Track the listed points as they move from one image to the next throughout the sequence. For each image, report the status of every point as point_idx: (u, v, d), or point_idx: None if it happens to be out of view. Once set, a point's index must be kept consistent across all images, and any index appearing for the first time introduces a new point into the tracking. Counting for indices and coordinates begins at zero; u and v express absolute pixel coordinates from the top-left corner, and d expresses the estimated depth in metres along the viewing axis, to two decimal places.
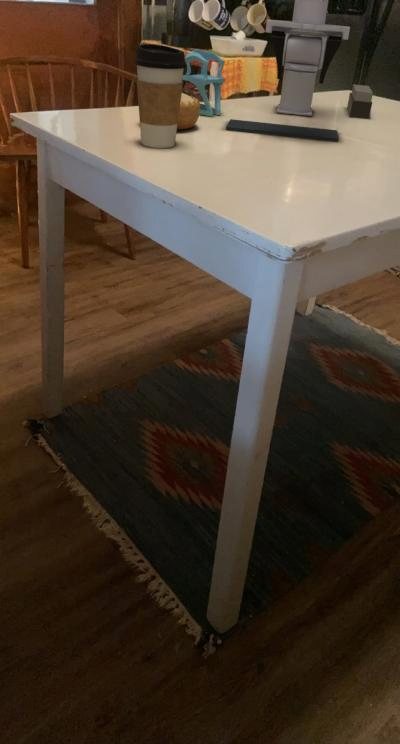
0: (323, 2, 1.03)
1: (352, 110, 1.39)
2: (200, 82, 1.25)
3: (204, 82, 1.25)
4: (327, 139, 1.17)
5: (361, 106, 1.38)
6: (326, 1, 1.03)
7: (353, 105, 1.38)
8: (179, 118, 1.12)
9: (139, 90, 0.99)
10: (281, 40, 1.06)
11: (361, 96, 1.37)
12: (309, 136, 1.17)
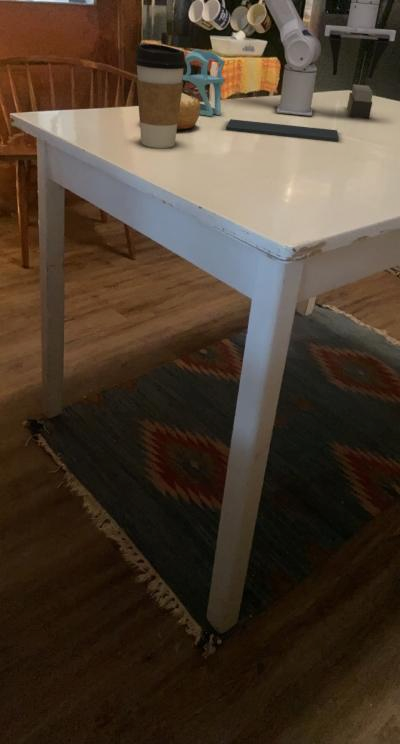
0: (374, 10, 1.24)
1: (352, 110, 1.39)
2: (200, 82, 1.25)
3: (204, 82, 1.25)
4: (327, 139, 1.17)
5: (361, 106, 1.38)
6: (376, 9, 1.24)
7: (353, 105, 1.38)
8: (179, 118, 1.12)
9: (139, 90, 0.99)
10: (338, 42, 1.27)
11: (361, 96, 1.37)
12: (309, 136, 1.17)
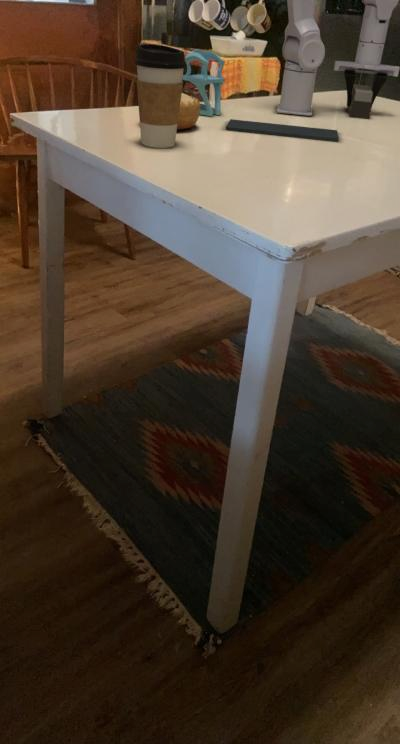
0: (380, 49, 1.35)
1: (352, 110, 1.39)
2: (200, 82, 1.25)
3: (204, 82, 1.25)
4: (327, 139, 1.17)
5: (361, 106, 1.38)
6: (382, 48, 1.36)
7: (353, 105, 1.38)
8: (179, 118, 1.12)
9: (139, 90, 0.99)
10: (352, 77, 1.38)
11: (361, 96, 1.37)
12: (309, 136, 1.17)
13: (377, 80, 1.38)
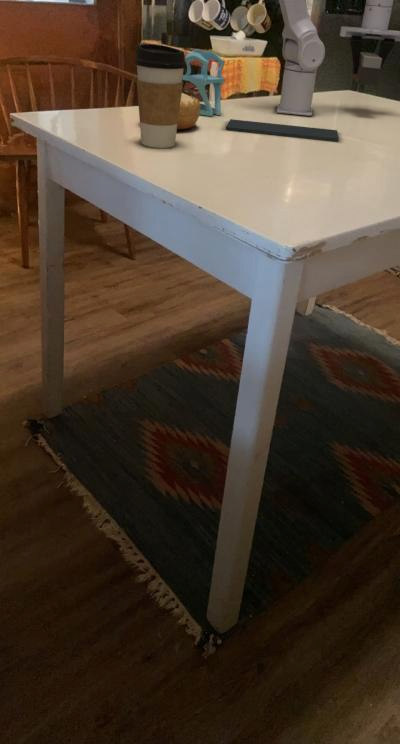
0: (388, 13, 1.31)
1: (361, 77, 1.35)
2: (200, 82, 1.25)
3: (204, 82, 1.25)
4: (327, 139, 1.17)
5: (370, 73, 1.34)
6: (390, 12, 1.32)
7: (362, 72, 1.34)
8: (179, 118, 1.12)
9: (139, 90, 0.99)
10: (360, 43, 1.34)
11: (370, 62, 1.33)
12: (309, 136, 1.17)
13: (385, 46, 1.34)
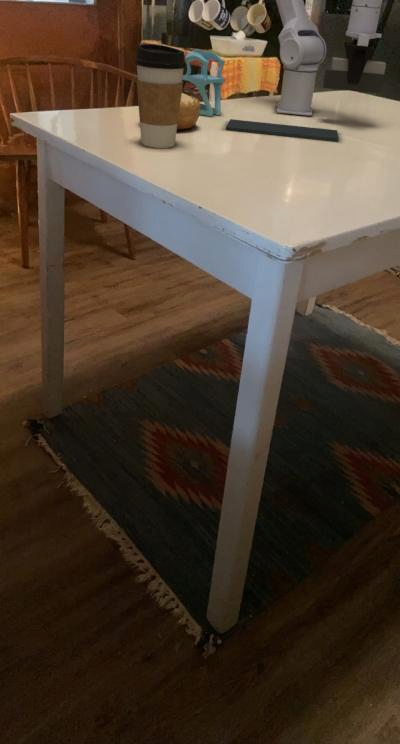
0: None
1: None
2: (200, 82, 1.25)
3: (204, 82, 1.25)
4: (327, 139, 1.17)
5: None
6: None
7: None
8: (179, 118, 1.12)
9: (139, 90, 0.99)
10: None
11: None
12: (309, 136, 1.17)
13: None
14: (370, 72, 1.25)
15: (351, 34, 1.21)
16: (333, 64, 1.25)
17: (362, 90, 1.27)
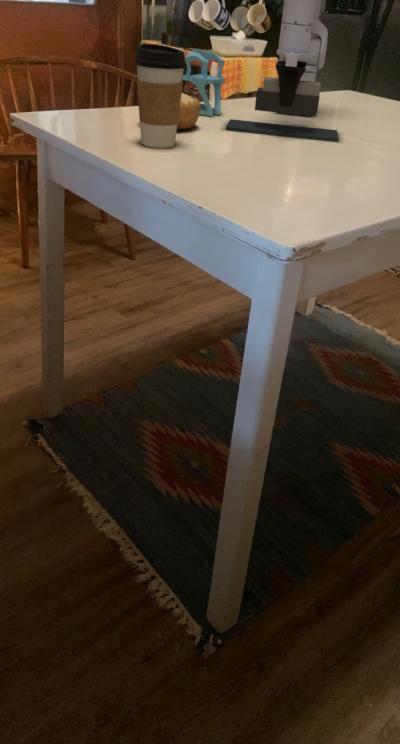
0: None
1: (317, 108, 1.16)
2: (200, 82, 1.25)
3: (204, 82, 1.25)
4: (327, 139, 1.17)
5: None
6: None
7: (318, 102, 1.16)
8: (179, 118, 1.12)
9: (139, 90, 0.99)
10: None
11: None
12: (309, 136, 1.17)
13: (304, 67, 1.17)
14: (304, 94, 1.15)
15: (280, 53, 1.11)
16: (264, 85, 1.15)
17: (296, 113, 1.17)
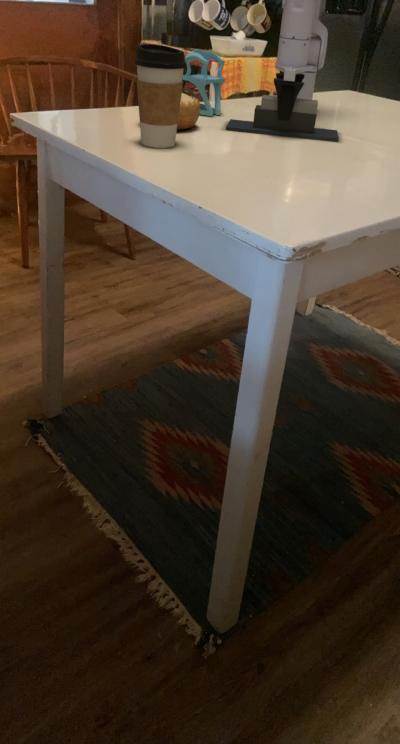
0: None
1: (314, 125, 1.18)
2: (200, 82, 1.25)
3: (204, 82, 1.25)
4: (327, 139, 1.17)
5: None
6: None
7: (315, 120, 1.17)
8: (179, 118, 1.12)
9: (139, 90, 0.99)
10: None
11: None
12: (309, 136, 1.17)
13: (302, 79, 1.19)
14: (301, 112, 1.17)
15: (279, 67, 1.12)
16: (262, 103, 1.17)
17: (294, 130, 1.19)
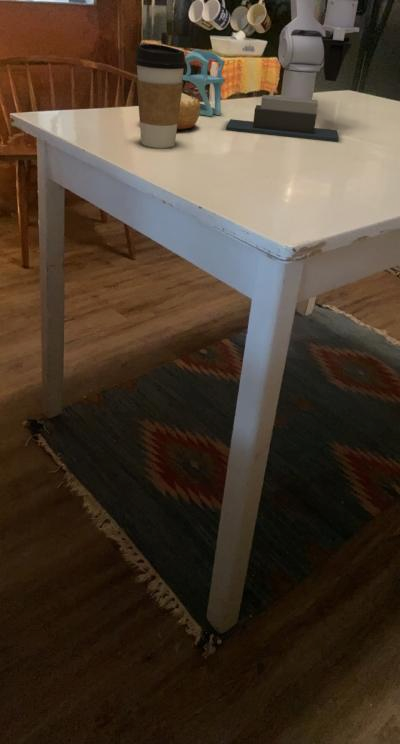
0: None
1: (314, 125, 1.18)
2: (200, 82, 1.25)
3: (204, 82, 1.25)
4: (327, 139, 1.17)
5: None
6: None
7: (315, 120, 1.17)
8: (179, 118, 1.12)
9: (139, 90, 0.99)
10: None
11: None
12: (309, 136, 1.17)
13: (347, 42, 1.22)
14: (301, 112, 1.17)
15: (327, 28, 1.16)
16: (262, 103, 1.17)
17: (294, 130, 1.19)
